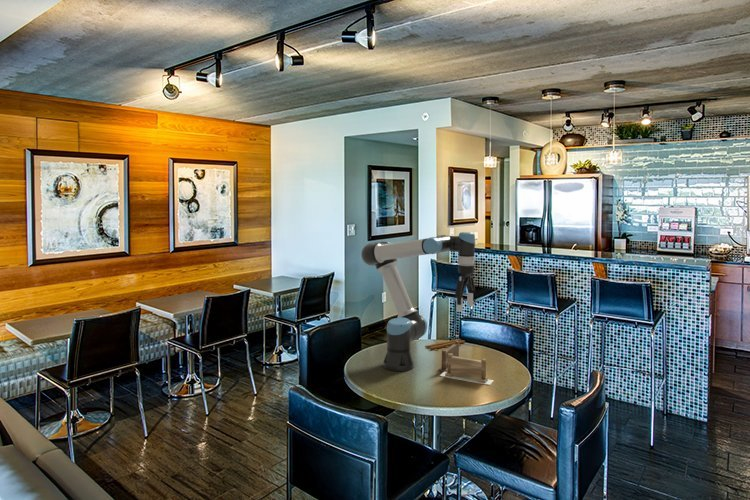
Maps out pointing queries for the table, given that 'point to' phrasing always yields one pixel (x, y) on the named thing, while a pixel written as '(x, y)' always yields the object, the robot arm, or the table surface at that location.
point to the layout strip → (468, 379)
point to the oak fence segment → (466, 368)
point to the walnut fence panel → (452, 349)
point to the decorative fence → (444, 344)
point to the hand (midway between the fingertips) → (464, 308)
